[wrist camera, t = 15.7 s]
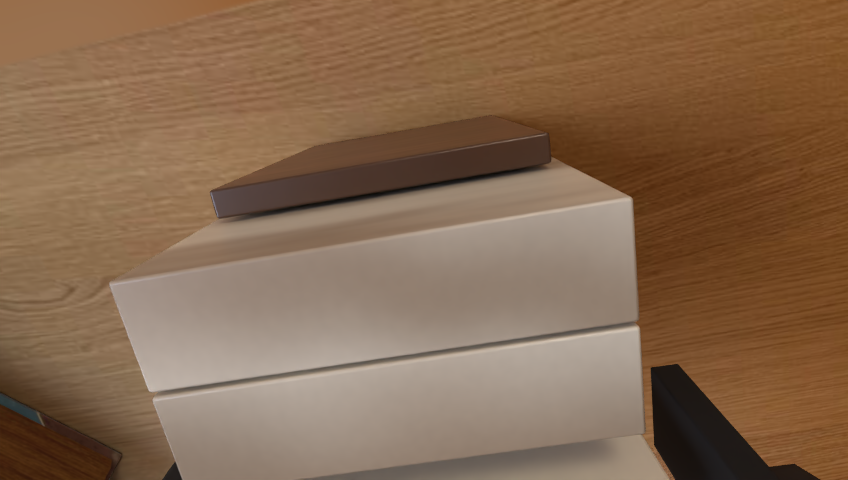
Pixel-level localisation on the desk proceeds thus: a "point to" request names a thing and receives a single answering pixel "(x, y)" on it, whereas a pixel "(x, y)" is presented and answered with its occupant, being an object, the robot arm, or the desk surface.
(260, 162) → the desk surface
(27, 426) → the book
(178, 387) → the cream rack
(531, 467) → the cream book
